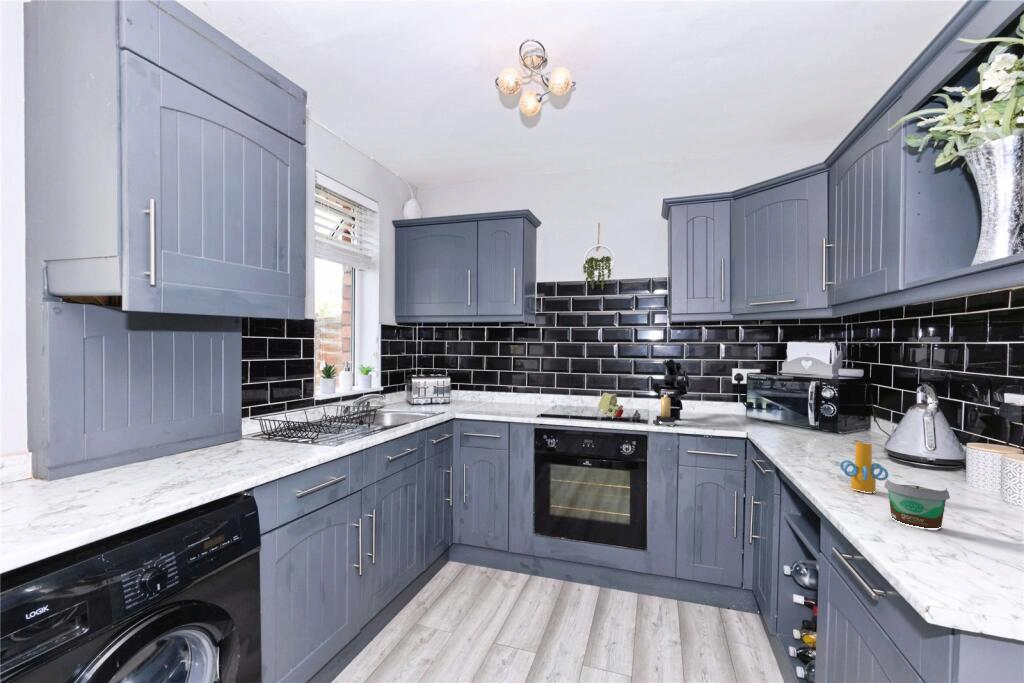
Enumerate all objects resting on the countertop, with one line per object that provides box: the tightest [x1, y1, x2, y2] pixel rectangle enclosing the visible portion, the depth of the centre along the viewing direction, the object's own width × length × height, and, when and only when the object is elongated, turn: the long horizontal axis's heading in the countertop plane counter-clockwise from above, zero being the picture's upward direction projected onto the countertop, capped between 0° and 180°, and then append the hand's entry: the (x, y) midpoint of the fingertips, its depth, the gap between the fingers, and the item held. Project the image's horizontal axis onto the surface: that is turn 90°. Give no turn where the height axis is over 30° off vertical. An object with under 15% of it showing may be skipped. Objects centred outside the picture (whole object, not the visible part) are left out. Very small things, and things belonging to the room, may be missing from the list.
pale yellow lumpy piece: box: [595, 392, 624, 419], centre depth 267 cm, size 8×17×20 cm, turn 53°
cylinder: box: [839, 440, 889, 492], centre depth 136 cm, size 12×10×15 cm
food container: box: [883, 478, 951, 528], centre depth 110 cm, size 12×6×10 cm, turn 52°
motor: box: [652, 415, 676, 426], centre depth 246 cm, size 12×10×4 cm
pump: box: [660, 394, 670, 417], centre depth 246 cm, size 5×5×15 cm
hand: (667, 399), depth 249 cm, fingers open, 9 cm apart
